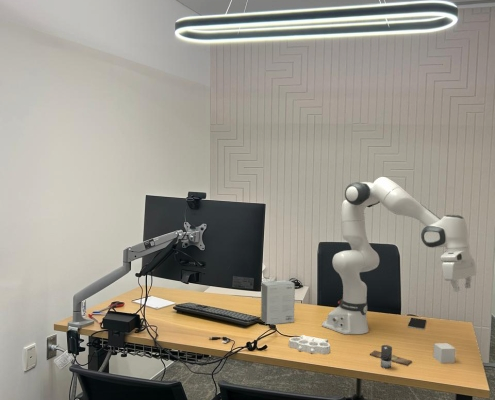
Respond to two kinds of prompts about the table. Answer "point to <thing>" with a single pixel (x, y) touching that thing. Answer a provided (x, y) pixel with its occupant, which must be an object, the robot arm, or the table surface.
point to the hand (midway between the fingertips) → (462, 289)
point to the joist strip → (394, 358)
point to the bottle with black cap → (386, 356)
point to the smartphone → (417, 323)
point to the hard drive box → (277, 302)
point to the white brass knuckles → (310, 344)
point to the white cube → (444, 353)
